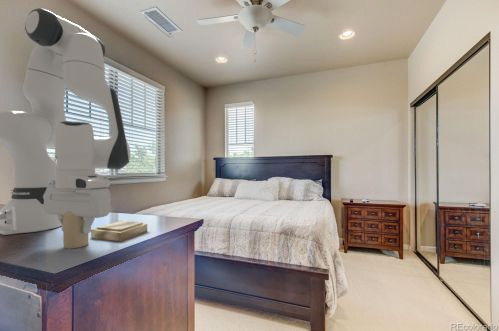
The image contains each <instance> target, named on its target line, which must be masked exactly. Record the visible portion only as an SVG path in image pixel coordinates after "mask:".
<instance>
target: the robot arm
mask: <svg viewBox="0 0 499 331" xmlns="http://www.w3.org/2000/svg"><path fill="white" fill-rule="evenodd" d="M24 24H25V26H24V30H25V33H26V35H27V36H28V38H29V39H30V40H32V41H33V42H34V43H35V45H34V47H33V48H32V50H31V52H30V53H31V54H30V56H29V58H28V62H27V66H26V71H25V76H24V81H23V85H22V86H23V87H22V94H23V95H24V97H25V98H26V99H27V101H28V103H30V107H31V112H28V111H24V110H3V111H0V142H1V143H2V144H3V145H4V146H5V147H6V149H7V150H8V153H9V155H10V156H11V159H12V161H13V162H12V163H13V166H14V177H15V178H14V181H15V182H14V184H15V186H14V188H13V189H10V191H12V192H10V194H11V197H10V198H11V199H10V200H9V202H8V203H7V204H5V205H4V206H3V207H2V208H0V235H3V236H5V235H6V236H7V235H14V234H16V235H17V234H24V233H25V234H26V233H34V232H42V231H48V230H51V229H52V230H53V229H56V228H59V227H61V231H62V232H63V215H64V214H65V213H66V212H68V211H71V212H72V213H73V214H75V215H76V216H80V217H83V221H85V223H84V225H83V227H81V233H84V234H87V233H88V234H91V230H92V226H93V223H94V221H95V219H98V218H104V217H107V216H108V215H109V214H110V212H111V207H112V199H111V192H110V190H109V187H110V186H111V181H110V179H109V178H106V177H104V176H103V175H100V174H98V173H96V169H108V170H109V169H110V170H121V169H123V168H124V167H126V166H127V165H128V164H129V163H130V161H131V160H130V159H131V154H132V153H131V148H130V146H129V143H128V140H127V138H126V133H125V127H124V122H123V116H122V111H121V106H120V103H119V99H118V95H117V91H115V89H114V88H113V87H111V86H110V85H109V84H108V82H107V80H106V70H105V69H106V67H105V56H106V47H105V44H104V43H103V42H102V41H101V39H100V38H98V37H97V36H96V35H94V34H91V33H90V32H89V31H87V30H85V29H84V28H83V27H81V26H80V25H78V24H76V23H73V22H71V21H69V20H68V19H66V18H62V17H61V16H59V15H56V14H55V13H54V12H52V11H50V10H47V9H44V8H41V7H37V8H34V9H32V10H31V11H30V12H29V13H28V15H27V17H26V20H25V23H24ZM67 89H68V90H69V91H70V92H71V94H73V95H75V96H76V97H78V98H80V99H82V100H84V101H87V102H89V103H92V104H94V105H97V106H98V107H101V108H102V109H103V110H104V111H105V112H106V113H107V114H106V115H107V118H108V124H109V130H110V136H108V137H105V136H101V137H99V136H95V133H94V129H93V124H91V123H89V122H87V121H80V120H78V121H77V120H76V121H72V120H67V118H66V112H65V96H66V92H67ZM47 148H49V149H54V155H55V159H56V162H55V161H54V160H53V159H52V158H51V156H50V155H49V153H48V150H47Z"/></svg>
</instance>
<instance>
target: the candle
mask: <svg viewBox="0 0 499 331" xmlns="http://www.w3.org/2000/svg"><path fill="white" fill-rule="evenodd" d="M84 223H85V221H83V217H80V216H76V215H75V214H73V213H72V212H71V211H68V212H66V213H65V214H64V215H63V231H62V234H63V236H62V239H63V240H62V241H63V245H62V246H63V248H64V249H78V248H82V247H85V246H87V245H88V244H89V233H87V234H84V233H81V227H83V225H84Z"/></svg>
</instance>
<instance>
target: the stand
mask: <svg viewBox="0 0 499 331" xmlns="http://www.w3.org/2000/svg"><path fill="white" fill-rule="evenodd" d="M146 231H147V232H148V223H143V222H139V221H131V220H128V221H127V220H118V221H115V222H111V223H107V224H103V225H99V226H96V227H95V228H91V232H90V239H97V240H98V239H99V240H108V241H109V240H110V241H114V242H115V241H116V242H122V241H125V240H127V239H130V238H133V237H135V236H138V235H141V234H144V233H147V232H146Z"/></svg>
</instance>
